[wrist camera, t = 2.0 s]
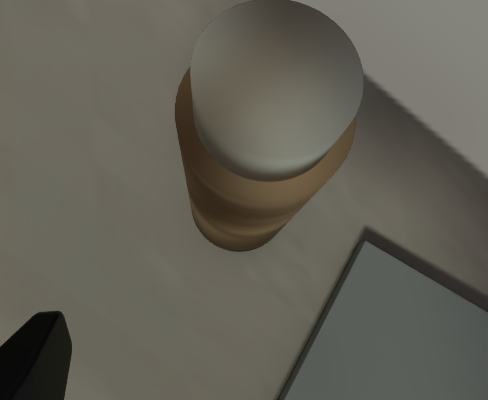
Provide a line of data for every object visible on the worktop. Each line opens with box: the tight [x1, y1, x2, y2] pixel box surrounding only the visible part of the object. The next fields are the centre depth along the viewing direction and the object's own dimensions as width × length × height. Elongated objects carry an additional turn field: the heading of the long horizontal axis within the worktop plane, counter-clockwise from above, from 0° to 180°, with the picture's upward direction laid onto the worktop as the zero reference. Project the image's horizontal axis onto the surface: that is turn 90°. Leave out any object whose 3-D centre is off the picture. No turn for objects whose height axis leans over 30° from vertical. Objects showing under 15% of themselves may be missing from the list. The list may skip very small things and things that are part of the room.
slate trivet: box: [279, 241, 488, 400], centre depth 20 cm, size 11×11×1 cm
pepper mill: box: [175, 0, 364, 252], centre depth 16 cm, size 5×5×13 cm
